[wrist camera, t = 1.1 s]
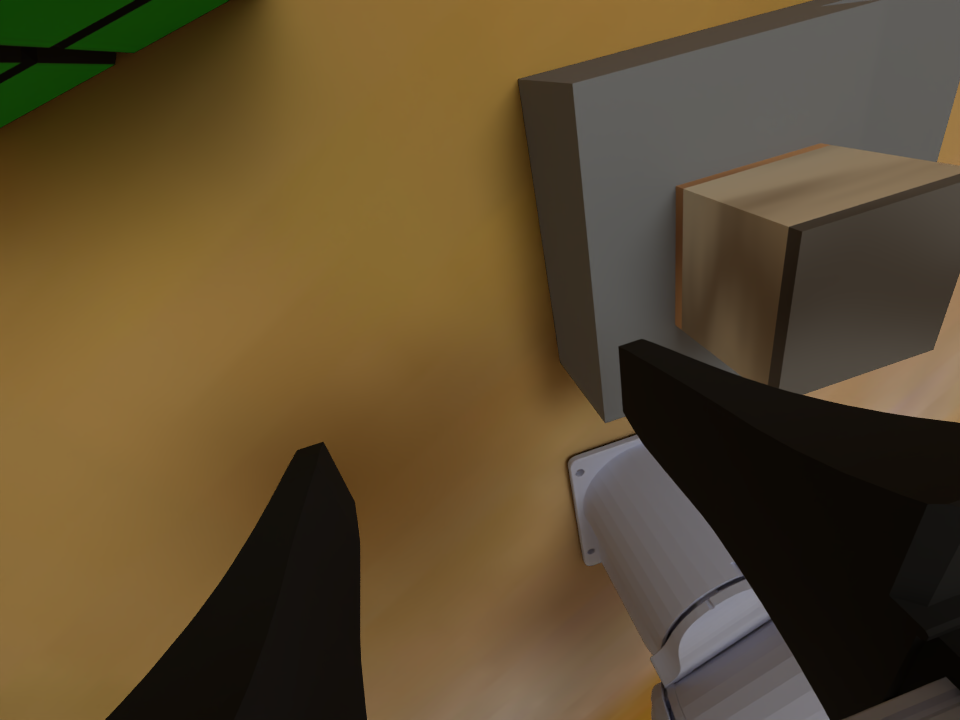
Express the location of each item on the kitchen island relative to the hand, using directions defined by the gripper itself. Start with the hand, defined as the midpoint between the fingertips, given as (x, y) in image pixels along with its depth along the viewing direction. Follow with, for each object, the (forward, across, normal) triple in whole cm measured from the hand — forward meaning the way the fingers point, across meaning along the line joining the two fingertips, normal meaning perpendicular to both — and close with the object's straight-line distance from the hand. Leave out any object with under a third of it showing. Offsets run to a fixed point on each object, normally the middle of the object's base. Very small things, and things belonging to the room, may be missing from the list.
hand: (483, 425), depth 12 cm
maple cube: (+5, -10, 0) cm, 12 cm away
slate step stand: (+10, -13, 0) cm, 16 cm away
